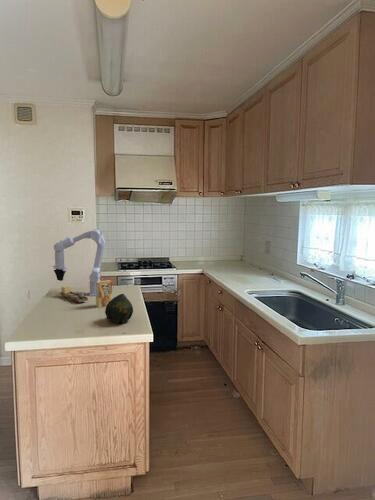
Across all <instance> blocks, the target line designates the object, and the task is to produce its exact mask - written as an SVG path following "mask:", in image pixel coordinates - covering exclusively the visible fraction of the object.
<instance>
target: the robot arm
mask: <svg viewBox="0 0 375 500" xmlns="http://www.w3.org/2000/svg"><path fill="white" fill-rule="evenodd" d="M83 239H84V240H85V239H91V240H92V241H94V242H95V243H96V245H97V248H96V252H95V253H96V254H95V258H94V262H93V268H92V270H91V274H90V275H89V280H90V281H89V293H88V294H89V297H94V296H95V297H96V282H99V281H102V280H101V276H102V275H101V267H102V263H103V262H102V261H103V257H104V253H105V247H106V240H105V238H104V235H103V232H101V230H99V229H96V228H95V229H93V230H88V231H85V232H83V233H80V234H79V235H77V236H74V237H69V236H68V237H66V238H65V239H63V240H59V241H58V242H56V243H55V244H54V245H53V250H54V265H53V266H52V267H53V268H52V269H54V270H53V272H54V275H55V276H56V280H57V281H60V282H61V281H64V277H65V274H66V272H67V267H65V252H64V249H67V248H71V247H72V246H75V243H76V242H80V241H81V240H83Z"/></svg>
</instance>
